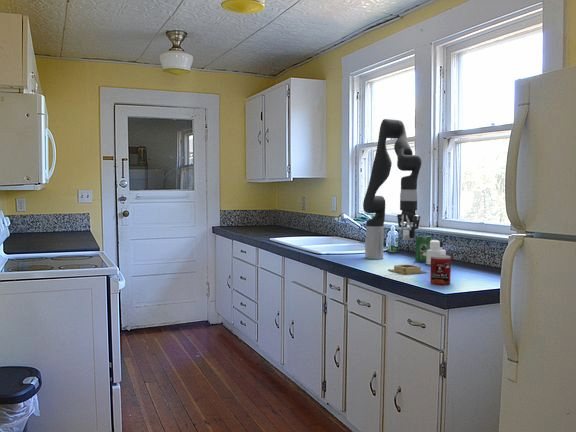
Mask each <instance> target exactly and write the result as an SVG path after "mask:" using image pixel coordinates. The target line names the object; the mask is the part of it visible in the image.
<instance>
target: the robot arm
mask: <svg viewBox="0 0 576 432" xmlns="http://www.w3.org/2000/svg"><path fill="white" fill-rule="evenodd" d="M388 139H394V140H395V139H396V141H395V142H394V146H393V150H394V152H395V154H396V157H397V162H396V165H397V168H398V169H399V171H403V172H407V171H408V172H411V173H410V174H409V175H405V176H402V177H401V178H400V192H399V193H400V194H399V200H400V201H399V210H400V211H401V213H400V214H399V213H398V214H397V215H396V217H397V225H398V228H400V229H401V237H402V238H403V227H409V228H410V232H409V238H411V239H412V238H414V239H415V238H416V234H415V232H416V230H418V229H419V225H420V220H421V215H417V214H416V211H418V178H419V174H420V170H421V167H422V158H421V156H420V155H418V154H417V155H416V154H413V149H412V148H411V146H410V144H409V141H408V137H407V132H406V128H405V124H404V122H403V121H402V120H399V119H391V118H390V119H389V118H385V119H384V118H383V120H382V121H381V123H380V127H379V132H378V140H377V145H376V146H377V147H376V151H375V155H374V159H373V163H372V167H371V172H370V176H369V177H370V178H369V183H368V186H367V189H366V191H365V196H364V197H363V202H362V203H363V204H362V209H363V211H364V213H366V214H374V216H373V217H371V218H370V219H367V220H366V223H365V242H364V243H365V244H364V249H365V250H364V258H365V259H369V260H383V259H384V238H385V237H384V236H385V234H384V231H385V230H384V229H385V226H384V225H385V224H384V223H385V220H386V219H385V218H386V217H385V216H386V199H385V197H384V196H383V195H376V194H377V192H378V190H379V188H380V187H381V186H382V185H383V184H384V183H385V182H386V181H387V179H389V176H390V174H391V169H392V164H393V163H392V159H391V156H390V154H389V152H388V149H387V145H386V143H387V140H388Z"/></svg>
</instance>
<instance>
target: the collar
mask: <svg viewBox="0 0 576 432" xmlns="http://www.w3.org/2000/svg"><path fill="white" fill-rule="evenodd" d="M393 267H394V268H389V269H388V272H392V273H396V274H398V275H404V276H407V275H420V274H427V273H428V272H427V271H424V270H422V267H421V266H418V265H414V264H409V263H408V264H407V263H406V264H396V265H393Z"/></svg>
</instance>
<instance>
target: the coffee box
mask: <svg viewBox="0 0 576 432" xmlns="http://www.w3.org/2000/svg"><path fill="white" fill-rule="evenodd" d="M431 240H432V236H431V235H422V236H421V235H420V236H419V235H417V236H416V235H415V255H414V256H415V257H414V258H415V259H414V260H415V263H423V262H425V263H426V251H427V250H430V241H431Z"/></svg>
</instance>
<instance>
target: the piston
mask: <svg viewBox="0 0 576 432" xmlns="http://www.w3.org/2000/svg"><path fill="white" fill-rule="evenodd" d="M409 232H410V228H409V226H407V227H403V237H402V240H403V241H404V240H405V241H407V240H408V241H412V240H414V239H415V237H414V238H412V239H411V238H409Z"/></svg>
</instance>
